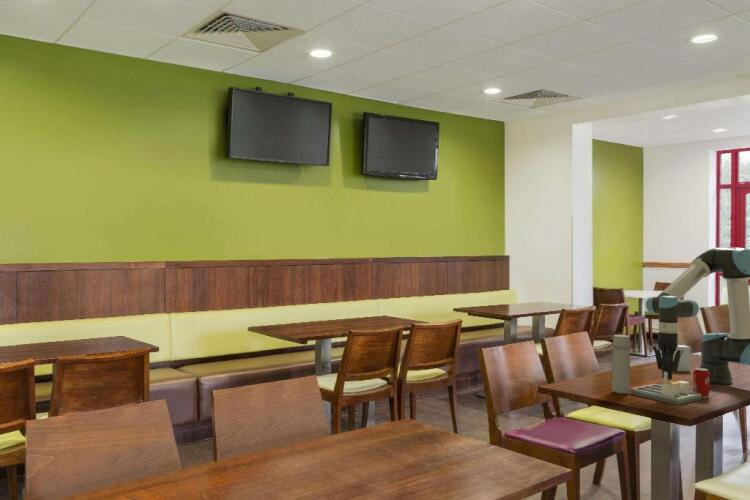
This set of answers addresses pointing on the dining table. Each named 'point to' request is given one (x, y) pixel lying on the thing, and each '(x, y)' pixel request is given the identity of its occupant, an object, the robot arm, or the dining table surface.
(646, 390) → the panel
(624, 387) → the water bottle
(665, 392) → the block
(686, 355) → the supplement box
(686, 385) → the block
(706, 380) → the beverage can
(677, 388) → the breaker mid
